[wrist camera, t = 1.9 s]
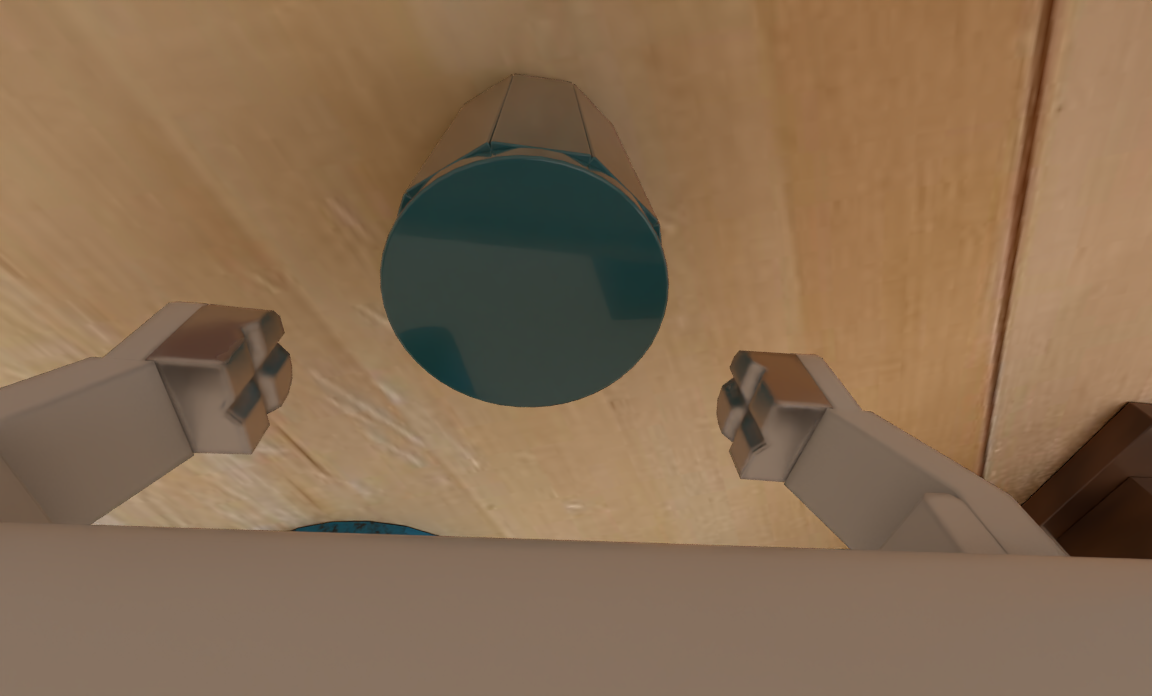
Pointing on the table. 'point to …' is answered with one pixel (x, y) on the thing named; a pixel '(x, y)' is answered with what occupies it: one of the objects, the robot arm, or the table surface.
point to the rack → (1103, 492)
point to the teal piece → (526, 251)
